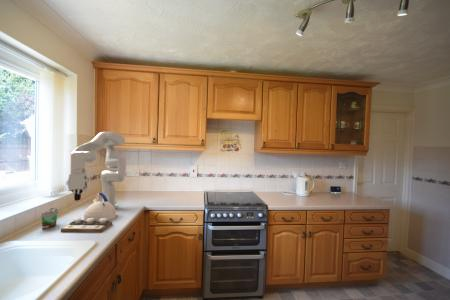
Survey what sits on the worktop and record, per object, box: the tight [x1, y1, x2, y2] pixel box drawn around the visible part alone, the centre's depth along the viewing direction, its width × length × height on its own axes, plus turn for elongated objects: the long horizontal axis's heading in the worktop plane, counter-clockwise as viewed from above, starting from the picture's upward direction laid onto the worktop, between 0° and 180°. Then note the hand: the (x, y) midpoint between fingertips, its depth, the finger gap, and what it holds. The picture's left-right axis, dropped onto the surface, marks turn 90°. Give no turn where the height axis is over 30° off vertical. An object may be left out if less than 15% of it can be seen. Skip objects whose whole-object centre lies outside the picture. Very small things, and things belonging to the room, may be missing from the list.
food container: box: [40, 207, 59, 230], centre depth 137 cm, size 12×6×10 cm, turn 17°
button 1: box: [73, 217, 82, 222], centre depth 137 cm, size 4×4×2 cm
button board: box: [60, 219, 113, 233], centre depth 135 cm, size 13×24×3 cm, turn 91°
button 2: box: [99, 218, 107, 223], centre depth 138 cm, size 4×4×2 cm
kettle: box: [83, 192, 117, 221], centre depth 154 cm, size 20×21×18 cm
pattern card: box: [61, 224, 104, 229], centre depth 131 cm, size 5×22×1 cm, turn 91°
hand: (77, 200), depth 137 cm, fingers closed
